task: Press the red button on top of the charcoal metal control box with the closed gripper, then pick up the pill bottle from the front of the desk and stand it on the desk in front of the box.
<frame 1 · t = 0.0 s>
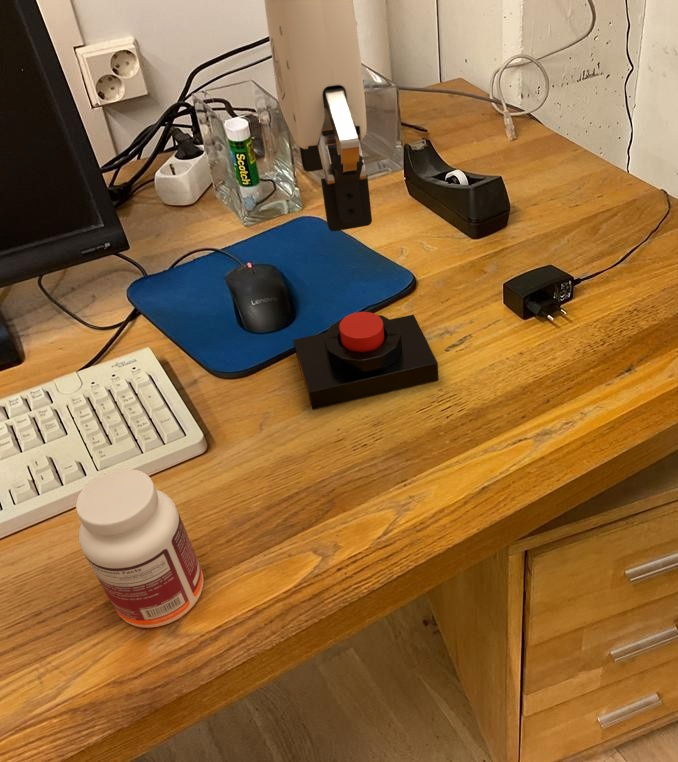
hand: (335, 195, 63), 20 cm above the table, tool pointing down, fingers open, 9 cm apart
pill bottle: (161, 595, 59), on the table
button: (362, 331, 75), point 4 cm above the table, slide at 0.1 cm
button box: (366, 368, 78), on the table
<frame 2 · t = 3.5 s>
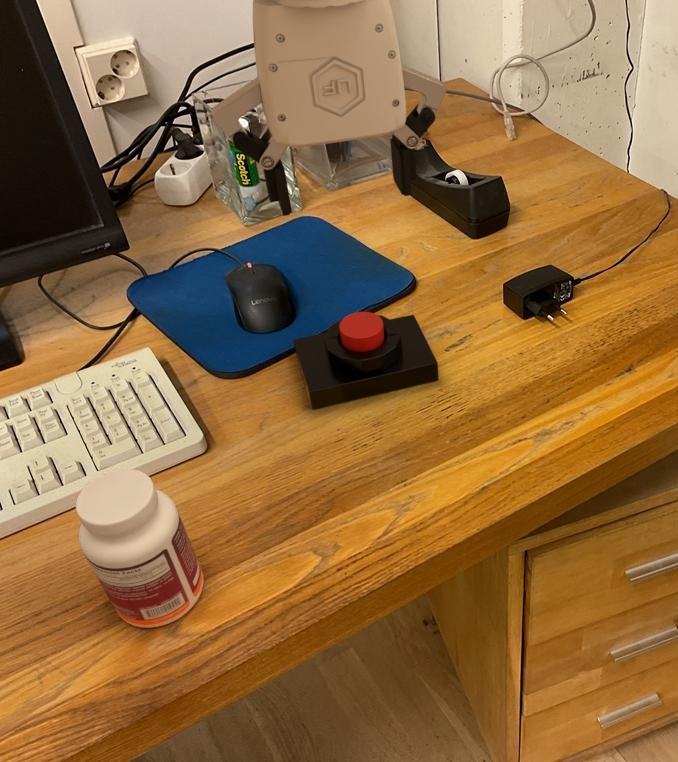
hand: (344, 197, 66), 18 cm above the table, tool pointing down, fingers open, 9 cm apart
nothing on the table moved.
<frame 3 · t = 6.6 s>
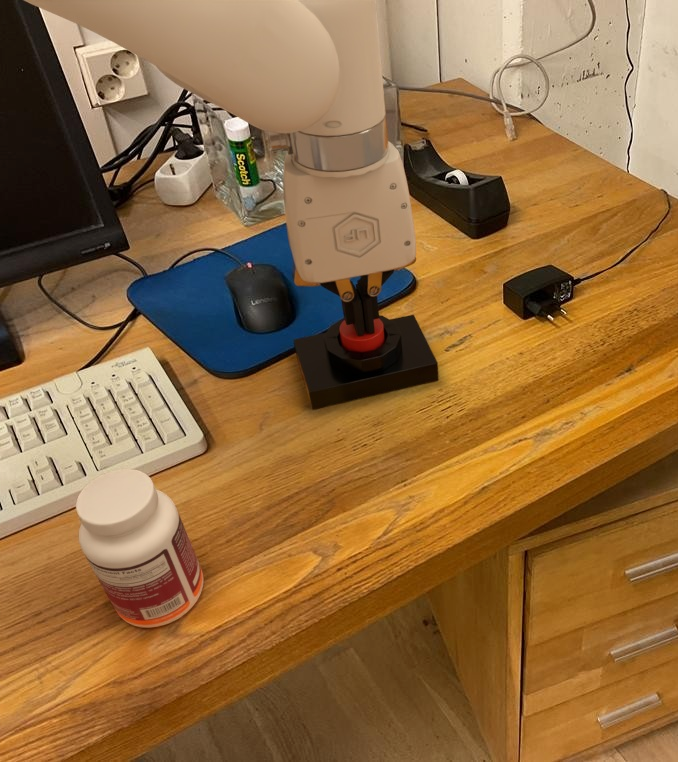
hand: (362, 325, 75), 5 cm above the table, tool pointing down, fingers closed
button: (362, 334, 75), point 4 cm above the table, slide at -0.2 cm, touching gripper
everything else where it was.
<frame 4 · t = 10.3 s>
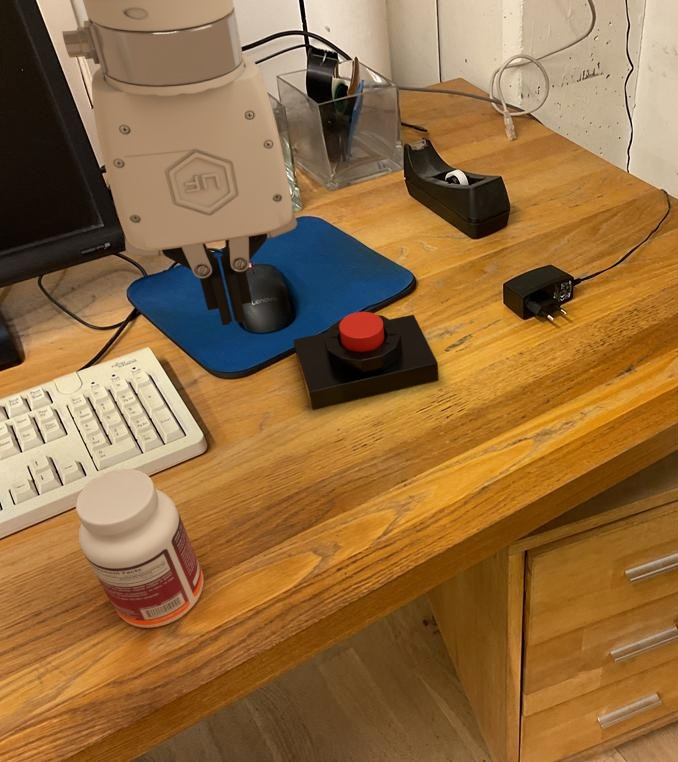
hand: (231, 312, 57), 17 cm above the table, tool pointing down, fingers closed
button: (362, 331, 75), point 4 cm above the table, slide at 0.1 cm
everything else where it was.
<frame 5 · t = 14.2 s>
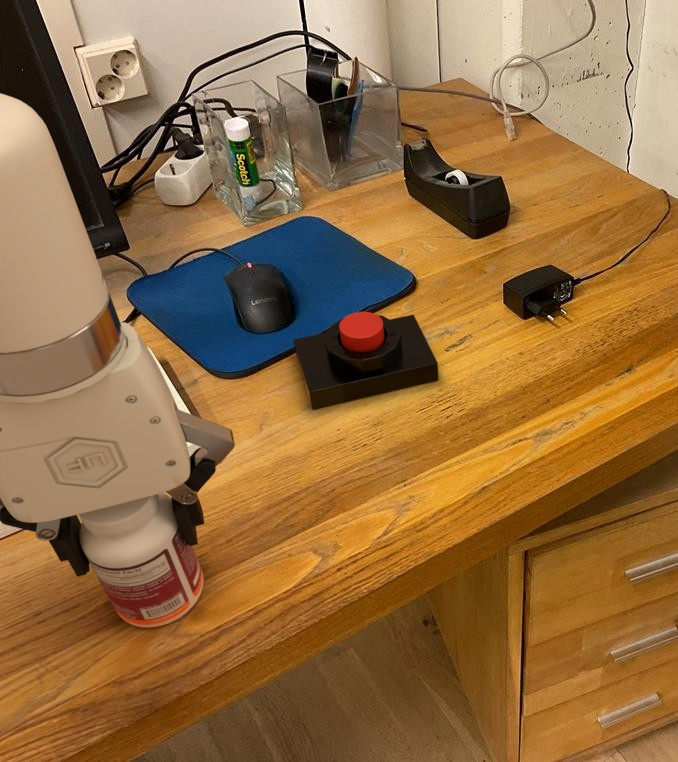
hand: (137, 542, 55), 6 cm above the table, tool pointing down, fingers closed on pill bottle, 6 cm apart
pill bottle: (161, 595, 59), on the table, touching gripper
everything else where it was.
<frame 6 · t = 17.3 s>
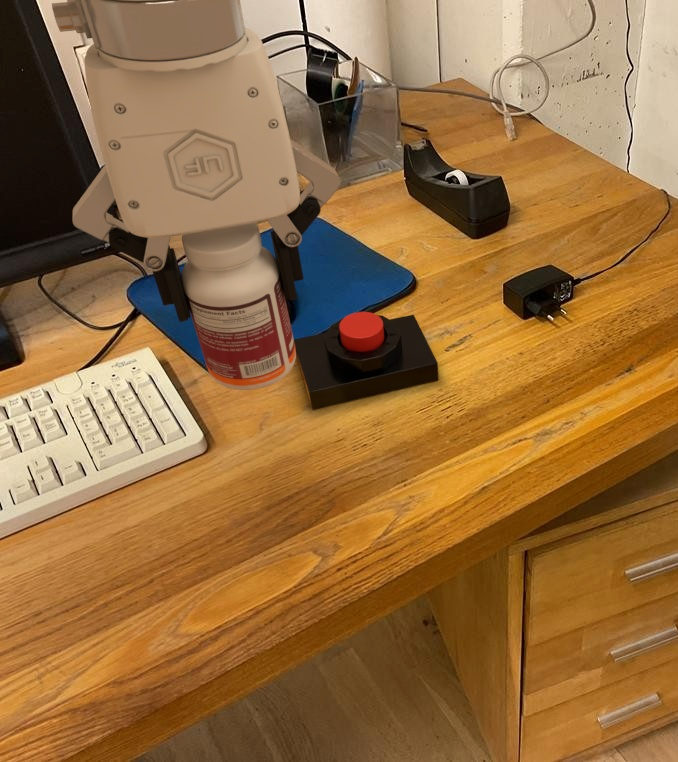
hand: (236, 296, 54), 19 cm above the table, tool pointing down, fingers closed on pill bottle, 6 cm apart
pill bottle: (253, 367, 58), point 13 cm above the table, touching gripper
everything else where it was.
when the fingers open (6 cm above the table, at t = 20.8 s): pill bottle stays where it is, on the table.
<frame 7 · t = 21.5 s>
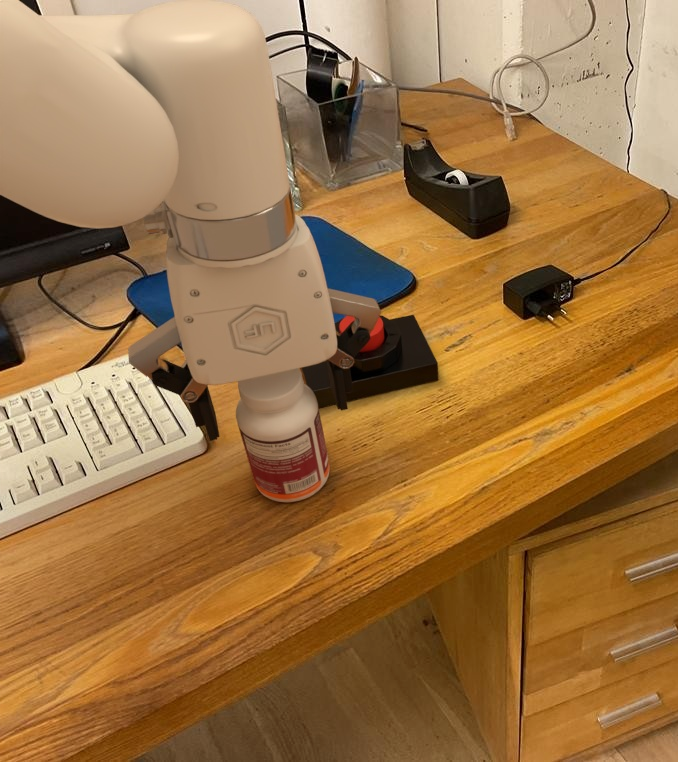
hand: (277, 412, 62), 7 cm above the table, tool pointing down, fingers open, 9 cm apart
pill bottle: (293, 478, 68), on the table
everything else where it was.
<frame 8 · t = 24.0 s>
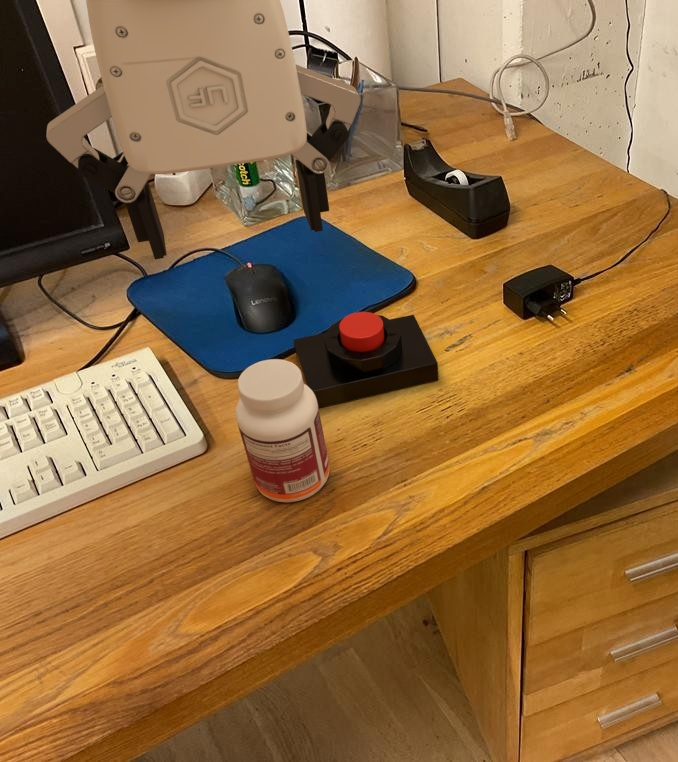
hand: (238, 234, 52), 23 cm above the table, tool pointing down, fingers open, 9 cm apart
nothing on the table moved.
at the end: button pushed in 1.1 cm at the most during the clip, back to where it started at the end; button slide at 0.1 cm; pill bottle 0.1 cm from the target spot on the table beside the button box, on the table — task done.
